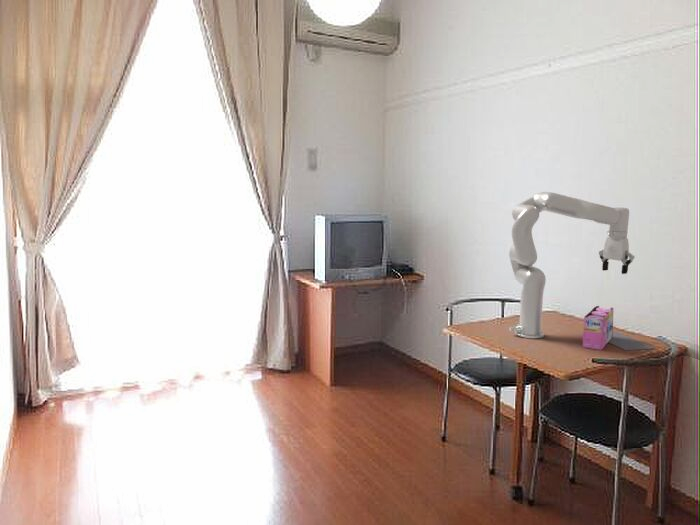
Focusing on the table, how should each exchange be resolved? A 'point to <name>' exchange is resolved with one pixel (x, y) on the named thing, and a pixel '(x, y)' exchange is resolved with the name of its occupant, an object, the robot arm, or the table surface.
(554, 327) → the table surface
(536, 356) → the table surface
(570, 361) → the table surface
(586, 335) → the gum box
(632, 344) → the mat
